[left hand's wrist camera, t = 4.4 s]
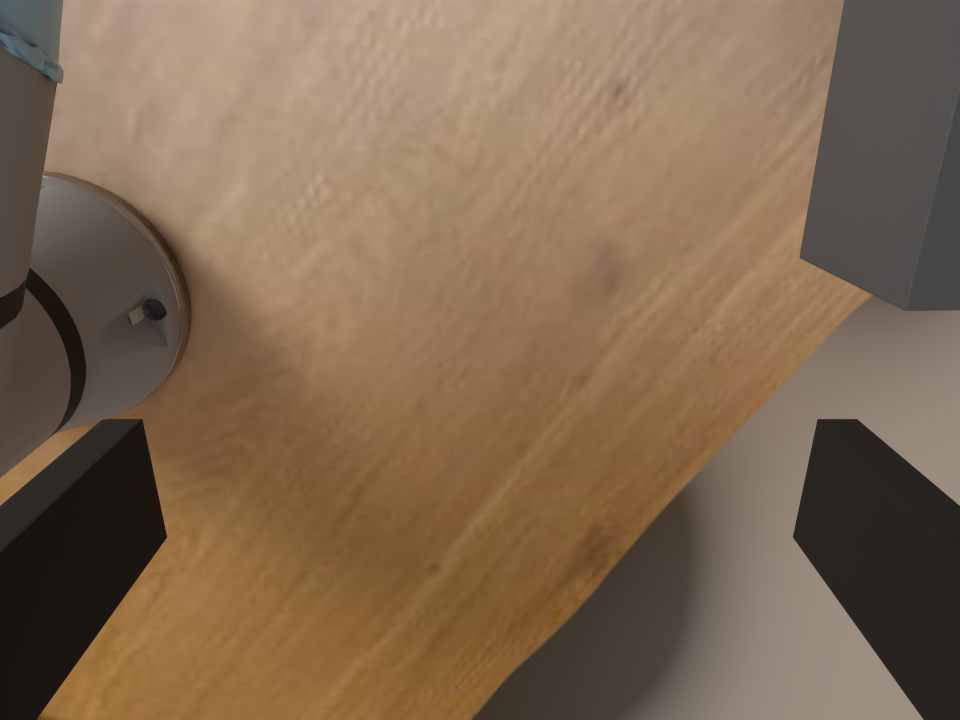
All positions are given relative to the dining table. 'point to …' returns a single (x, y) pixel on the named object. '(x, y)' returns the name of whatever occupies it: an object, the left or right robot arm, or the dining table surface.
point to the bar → (891, 155)
